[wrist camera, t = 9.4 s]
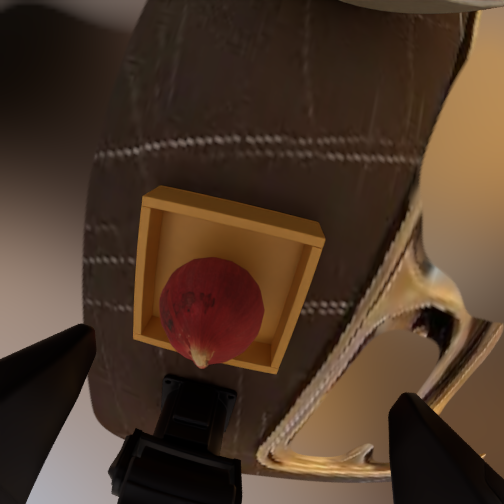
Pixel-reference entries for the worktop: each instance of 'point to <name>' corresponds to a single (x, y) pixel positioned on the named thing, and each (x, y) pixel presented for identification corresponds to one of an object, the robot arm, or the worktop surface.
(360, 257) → the worktop surface
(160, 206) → the amber tray
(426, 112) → the worktop surface
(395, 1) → the flower pot
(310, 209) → the worktop surface
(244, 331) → the onion
